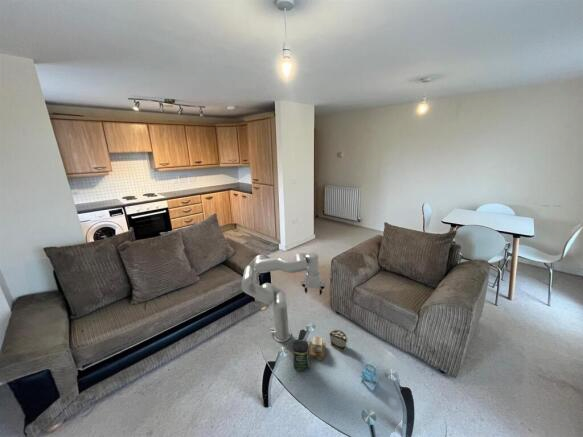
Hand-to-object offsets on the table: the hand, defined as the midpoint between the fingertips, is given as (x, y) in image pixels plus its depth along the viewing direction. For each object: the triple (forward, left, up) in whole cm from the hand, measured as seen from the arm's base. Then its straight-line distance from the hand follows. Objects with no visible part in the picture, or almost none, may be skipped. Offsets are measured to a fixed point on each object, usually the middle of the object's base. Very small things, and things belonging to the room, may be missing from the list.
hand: (313, 293), depth 163 cm
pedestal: (+5, -17, -34) cm, 38 cm away
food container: (+18, -8, -34) cm, 39 cm away
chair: (+36, -31, -34) cm, 58 cm away
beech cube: (+5, -16, -30) cm, 34 cm away
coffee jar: (-3, -29, -34) cm, 44 cm away
